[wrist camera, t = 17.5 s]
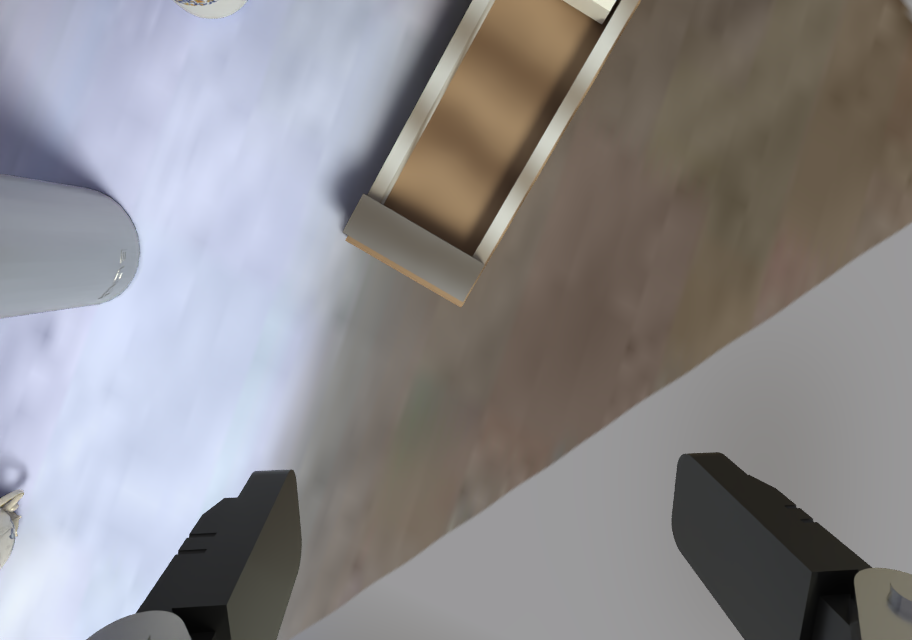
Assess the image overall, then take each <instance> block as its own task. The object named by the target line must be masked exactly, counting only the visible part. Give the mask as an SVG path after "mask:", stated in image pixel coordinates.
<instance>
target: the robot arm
mask: <svg viewBox="0 0 912 640" xmlns="http://www.w3.org/2000/svg"><path fill="white" fill-rule="evenodd" d="M139 256H140V249H139V240H138V236H137V233H136V229H135V227H134V225H133V223H132V221H131V219H130V217H129V216H128V215H127V213H126V212H125V211H124V210H123V208H122V207H121V206H120V205H119V204H117V203H116V202H115V201H114V200H113V199H112V198H110V197H108V196H106V195H105V194H103V193H101V192H99V191H96V190H93V189H89V188H85V187H79V186H72V185H66V184H60V183H54V182H48V181H43V180H36V179H30V178H24V177H18V176H12V175H6V174H0V319H2V318H9V317H16V316H22V315H29V314H36V313H43V312H50V311H57V310H64V309H70V308H77V307H84V306H91V305H98V304H101V303H104V302H107V301H110V300H112V299H114V298H115V297H117V296H118V295H120V294H121V293H122V292H123V291H124V290H125V289H126V288H127V287H128V286H129V284H130V283H131V281H132V280H133V278H134V276H135V273H136V271H137V268H138V264H139ZM672 531H673V535H674V539H675V542H676V544H677V547H678V549H679V550H680V552H681V553H682V555H683V556H684V557H685V559H686V560H687V561H688V563H689V564H690V566H691V567H692V568H693V570H694V571H695V572H696V574H697V575H698V577H699V578H700V579H701V581H702V582H703V583H704V585H705V586H706V588H707V589H708V590H709V591H710V593H711V594H712V596H713V597H714V598H715V600H716V601H717V603H718V604H719V605H720V607H721V608H722V609H723V611H724V612H725V613H726V615H727V616H728V618H729V619H730V620H731V622H732V623H733V624H734V626H735V627H736V628H737V630H738V631H739V633H740V634H741V635H742V637H743V638H744V639H745V640H912V574H909V573H905V572H901V571H897V570H892V569H886V568H872V567H871V566H870V565H868V564H867V563H866V562H864V560H862V559H861V558H860V557H859V556H857V555H856V554H855V553H854V552H853V551H851V550H850V549H849V548H848V547H847V546H845V545H844V544H843V543H842V542H840V541H839V540H838V539H837V538H836V537H834V536H833V535H832V534H831V533H830V532H828V531H827V530H826V529H825V528H823V527H822V526H821V525H820V524H819V523H817V522H813V519H812V518H811V517H810V516H809V515H808V514H806V513H805V512H804V511H803V510H802V509H800V508H796V505H795V504H794V503H793V502H792V501H790V500H789V499H788V498H787V497H786V496H785V495H783V494H782V493H781V492H779V491H778V490H777V489H776V488H774V487H772V486H770V485H768V484H766V483H764V482H762V481H760V480H758V479H756V478H754V477H752V476H750V475H747V474H746V473H745V472H744V471H742V470H741V469H740V468H739V467H737V465H735V464H734V463H733V462H732V461H731V460H730V459H728V458H727V457H726V456H725V455H724V454H722V453H718V452H716V453H692V454H683V455H681V457H680V458H679V461H678V464H677V473H676V483H675V492H674V501H673V511H672ZM301 548H302V538H301V526H300V515H299V504H298V493H297V482H296V476H295V473H294V471H293V470H271V471H255V472H253V473H252V475H251V476H250V478H249V480H248V481H247V483H246V485H245V486H244V488H243V490H242V491H241V493H240V495H239V496H238V498H224V499H223V500H221V501H220V502H219V503H217V504H216V505H215V506H213V507H212V508H211V509H210V510H208V511H207V512H206V513H204V514H203V515H202V516H201V518H200V519H199V521H198V522H197V524H196V525H195V527H194V528H193V530H192V531H191V533H190V534H189V538H186V540H185V541H184V543H183V544H182V546H181V547H180V549H179V550H178V555H175V556H174V558H173V559H172V561H171V562H170V564H169V565H168V567H167V568H166V570H165V571H164V572H163V574H162V575H161V577H160V578H159V580H158V581H157V583H156V584H155V586H154V587H153V589H152V590H151V592H150V593H149V595H148V596H147V598H146V599H145V601H144V602H143V604H142V605H141V606H140V608H139V609H138V611H137V612H136V614H133V615H130V616H127V617H124V618H122V619H119V620H117V621H115V622H113V623H111V624H109V625H107V626H105V627H104V628H102V629H100V630H99V631H97V632H96V633H94V634H93V635H92V636H90V637H89V638H88V639H87V640H276V639H277V636H278V633H279V630H280V627H281V624H282V620H283V617H284V614H285V611H286V608H287V605H288V602H289V599H290V595H291V592H292V589H293V586H294V583H295V580H296V577H297V574H298V570H299V566H300V559H301Z"/></svg>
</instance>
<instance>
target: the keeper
mask: <svg viewBox="0 0 912 640" xmlns="http://www.w3.org/2000/svg"><path fill="white" fill-rule="evenodd" d="M563 1H565V2H566V3H568V4H569V5H571V6H573V7H574V8H576V9H577V10H579V11H581V12H582V13H584V14H586V15H587V16H589V17H590V18H592V19H594V20H595V21H597V22H598V23H600V24H603V22H604V21H605V19H606V17H607V15H608V14H609V12H610V10H611V9H612V7H613V5H614V3H615V2H616V0H563Z"/></svg>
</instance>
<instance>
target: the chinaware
mask: <svg viewBox="0 0 912 640" xmlns="http://www.w3.org/2000/svg"><path fill="white" fill-rule="evenodd" d="M23 495H24V491H23V490H21V489H18V490H15V491H13V492H10V493H8V494H6V495H5V496H3V497H1V498H0V569H1V568H2V567H3V565H4V564H5V563H6V561H7V560H8V558H9V556H10V554H11V552H12V550H13V547H14V543H15V536H18V535H17V529H18V522H19V519H20V518H21V516H19V515H16V514H15V513H14V511H15V510H16V509H17V508H18V507H19V505H18V503H17V502H18V501H19V500H20V499H21V497H22V496H23ZM12 498H13V499H12ZM11 499H12V500H11ZM10 500H11V501H10ZM8 501H10V502H8ZM7 502H8V503H7Z"/></svg>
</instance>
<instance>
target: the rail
mask: <svg viewBox="0 0 912 640" xmlns="http://www.w3.org/2000/svg"><path fill="white" fill-rule="evenodd" d="M640 1H641V0H616V2H615V3H614V5H613V7H612V9H611V10H610V12H609V14H608V15H607V17H606V19H605V21H604V22H603V24H600V23H598V22H597V21H595V20H594V19H592V18H590V17H589V16H587V15H586V14H584V13H582V12H581V11H579V10H577V9H576V8H574V7H573V6H571V5H569V4H568V3H566V2H565V1H563V0H472V2H471V4H470V6H469V8H468V10H467V11H466V13H465V15H464V17H463V19H462V21H461V23H460V24H459V26H458V28H457V30H456V32H455V34H454V36H453V37H452V39H451V41H450V43H449V45H448V47H447V48H446V50H445V52H444V54H443V56H442V58H441V60H440V61H439V63H438V65H437V67H436V69H435V71H434V73H433V74H432V76H431V78H430V80H429V82H428V84H427V85H426V87H425V89H424V91H423V93H422V95H421V97H420V98H419V100H418V102H417V104H416V106H415V108H414V110H413V111H412V113H411V115H410V117H409V119H408V121H407V122H406V124H405V126H404V128H403V130H402V132H401V134H400V135H399V137H398V139H397V141H396V143H395V145H394V147H393V148H392V150H391V152H390V154H389V156H388V158H387V159H386V161H385V163H384V165H383V167H382V169H381V171H380V172H379V174H378V176H377V178H376V180H375V182H374V184H373V185H372V187H371V189H370V191H369V193H368V195H365V194H363V195H362V197H361V199H360V200H359V202H358V204H357V206H356V208H355V210H354V212H353V213H352V215H351V217H350V219H349V221H348V223H347V225H346V226H345V228H344V230H343V233H345V234H346V235H348V237H347V238H346V241H347V242H349V243H351V244H352V245H354V246H356V247H358V248H359V249H361V250H363V251H365V252H366V253H368V254H370V255H371V256H373V257H375V258H377V259H378V260H380V261H382V262H383V263H385V264H387V265H389V266H390V267H392V268H394V269H396V270H397V271H399V272H401V273H402V274H404V275H406V276H408V277H409V278H411V279H413V280H415V281H416V282H418V283H420V284H421V285H423V286H425V287H427V288H428V289H430V290H432V291H433V292H435V293H437V294H439V295H440V296H442V297H444V298H446V299H447V300H449V301H451V302H452V303H454V304H456V305H458V306H459V307H462V305H463V303H464V302H465V300H466V298H467V297H468V295H469V293H470V292H471V290H472V288H473V286H474V285H475V283H476V281H477V280H478V278H479V276H480V274H481V273H482V271H483V269H484V268H485V266H486V264H487V263H488V261H489V259H490V257H491V256H492V254H493V252H494V251H495V249H496V247H497V245H498V244H499V242H500V240H501V239H502V237H503V235H504V234H505V232H506V230H507V228H508V227H509V225H510V223H511V222H512V220H513V218H514V216H515V215H516V213H517V211H518V210H519V208H520V206H521V205H522V203H523V201H524V199H525V198H526V196H527V194H528V193H529V191H530V189H531V187H532V186H533V184H534V182H535V181H536V179H537V177H538V176H539V174H540V172H541V170H542V169H543V167H544V165H545V164H546V162H547V160H548V158H549V157H550V155H551V153H552V152H553V150H554V148H555V147H556V145H557V143H558V141H559V140H560V138H561V136H562V135H563V133H564V131H565V129H566V128H567V126H568V124H569V123H570V121H571V119H572V117H573V116H574V114H575V112H576V111H577V109H578V107H579V106H580V104H581V102H582V100H583V99H584V97H585V95H586V94H587V92H588V90H589V88H590V87H591V85H592V83H593V82H594V80H595V78H596V77H597V75H598V73H599V71H600V70H601V68H602V66H603V65H604V63H605V61H606V59H607V58H608V56H609V54H610V53H611V51H612V49H613V48H614V46H615V44H616V42H617V41H618V39H619V37H620V36H621V34H622V32H623V30H624V29H625V27H626V25H627V24H628V22H629V20H630V19H631V17H632V15H633V13H634V12H635V10H636V8H637V7H638V5H639V3H640Z"/></svg>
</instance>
